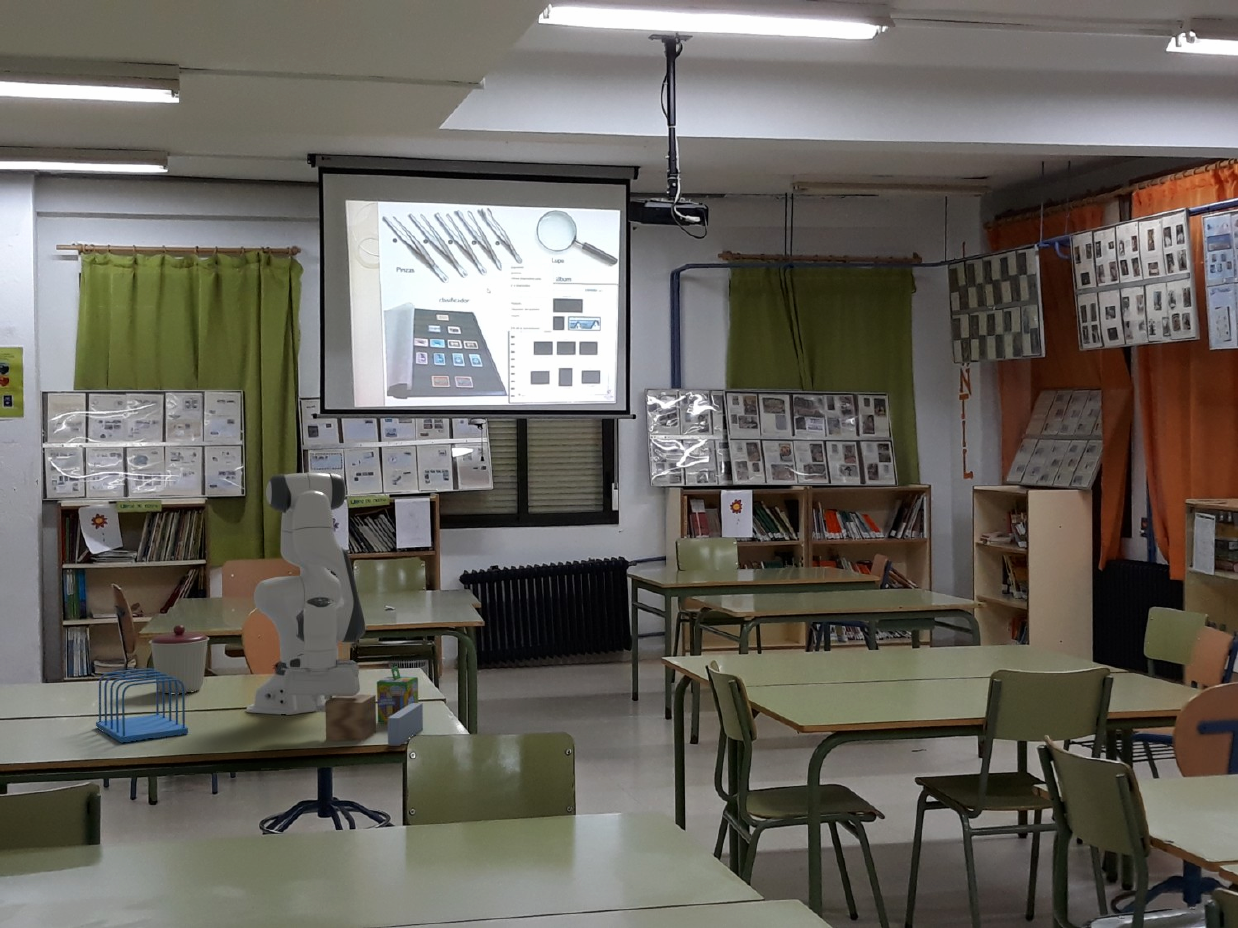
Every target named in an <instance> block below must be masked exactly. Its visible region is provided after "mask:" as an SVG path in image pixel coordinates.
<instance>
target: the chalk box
mask: <svg viewBox="0 0 1238 928" xmlns="http://www.w3.org/2000/svg"><path fill="white" fill-rule="evenodd" d="M390 670H391V675H392V676H387V677H384V678H381V679H379V680H378V681H376V698H377V700H376V703H377V704H376V705H377V723H378V724H388V717H390V716H392V715H393V714H395V713H396V712H398V711H400V710H401V709H403V708H405V707H406V706H408V705H409V704H411V703H419V678H418V676H417V677H416V676H401V674H400V671H399V667H398V666H397V665H396V666H393V667H392V668H391V669H390ZM395 672H396V674H395Z"/></svg>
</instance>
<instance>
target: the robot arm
mask: <svg viewBox="0 0 1238 928" xmlns="http://www.w3.org/2000/svg"><path fill="white" fill-rule="evenodd" d="M265 489H266V490H265V497H266V500H267V503H268V505H269V507H270V508H272V510H274V511H277V512H281V513H282V514H281V522H280V523H281V524H280V525H281V526H280V554H281V555H280V556H281V557H282V558H283V560H285V561H286V562H287V563H289V564H291V565H293V566H296V567H297V568H298V567H299V571H300V572H299V574H298V575H288V576H276V577H272V578H267V579H265V580H260V582H259V583H258V584H257V585H256V586H255V590H254V593H253V602H254V605H255V607H256V608H257V610H258V612H261V614H263V615H265V616H266V617H267V618H268V619H269V620H270V621H271V622H272V623H273V624H274V626H275V628H276V631H277V634H278V638H279V639H278V640H279V650H280V651H279V652H280V660H279V661H278V662H276V663H274V664H273V665H272V670H274V673H273V675H272V676H271V677H270V678H268V679H266V680H265V682H263V683H262V684H261V685H259V687H258V688H257V689H256V691H255V696H254V702H253V703H252V704H249V705H248V706H247V707H246V712H247V713H252V714H256V713H257V714H269V715H281V714H286V716H289V715H297V714H302V713H303V714H305V713H311V712H316V713H326V709H325V702H326V701H328V700H330V699H332V698H333V696H334V697H336V696H354V695H358V694H359V692H360V690H361V687H360V686H361V685H360V678H359V674H360V673H359V672H360V667H359V664H358V663H357V662H356V661H354V659H353V660H351V659H349V660H346V659H339V646H338V643H341V642H342V643H356V642H357V641H359V640H360V639H361V638H362V637H363V636H364V635H365V633H366V629H367V622H366V617H365V614H364V611H363V608H362V605H361V601H360V596H359V592H358V589H357V583H356V579H355V574H354V571H353V567H352V564H351V559H350V556H349V553H348V551H347V550H346V548H344V547H342V546H341V545H340V543H338V541H337V539H336V536H335V527H334V518H333V510H337V509H339V508H341V507H342V505H344V503H345V499H346V497H347V487H346V483H345V481H344V478H343V477H342V476H341V475H340V474H337V473H333V472H328V473H324V472H309V471H308V472H298V473H297V472H296V473H288V474H284V473H279V474H274V475H273V476H271V477H270V478H269V480H268V483H267V485H266V488H265ZM329 570H330V571H331V572H330V571H329ZM334 574H335V575H334ZM342 600H343V605H340V604H341V602H342Z"/></svg>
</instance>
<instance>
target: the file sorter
mask: <svg viewBox="0 0 1238 928" xmlns="http://www.w3.org/2000/svg"><path fill="white" fill-rule="evenodd" d="M109 675H110V676H109ZM107 676H109V677H108V678H106V680H105V682H104V687H103V689H104V691H103V692H104V693H103V694H104V695H103V696H104V699H103V700H104V706H103V707H104V720H102V681H103V679H104V678H105V677H107ZM155 676H156V677H155ZM158 676H161V677H158ZM114 678H116V679H115V680H113V681H112V682H111V685H110V688H109V692H110V693H109V697H110V698H109V699H110V700H109V702H110V703H109V705H110V706H109V707H110V710H109V711H110V719H109V720H108V700H107V699H108V695H107V693H108V691H107V689H108V688H107V687H108V683H109V681H110V680H111V679H114ZM166 678H168V680H164V679H166ZM159 679H162V680H159ZM123 680H124V681H123ZM119 681H122V682H120V683H119V684H118V685H117V686H116V689H115V719H114V718H113V717H114V714H113V713H114V712H113V711H114V709H113V708H114V707H113V706H114V705H113V702H114V698H113V696H114V695H113V693H114V692H113V691H114V688H113V687H114V685H115V684H116V683H118V682H119ZM171 681H174V682H175V694H174V695H175V696H174V697H175V720H173V719H172V694H171ZM160 682H162V692H163V693H162V692H161V693H162V713H161V714H160V713H159V712H160V710H159V707H160V706H159V704H160V703H159V702H160V701H159V697H160V695H159V692H160V691H159V683H160ZM165 682H169V694H168V717H167V716H166V709H165V708H166V705H165V703H166V699H165V698H166V694H165ZM177 682H179V683H180V684H181V686H182V694H181V697H182V702H181V703H182V704H181V706H182V719H181V720H182V721H181V723H182V724H181V723H179V700H178V699H179V698H178V697H179V694H178V685H177ZM129 683H130V684H129ZM124 684H128V685H126V686H125V687H124V689H122V692H121V693H122V695H121V706H122V707H121V711H122V713H121V717H122V718H119V690H120V688H121V687H122V686H123V685H124ZM148 684H156V688H155V689H156V690H155V691H156V693H155V694H156V695H155V696H156V705H155V706H156V714H148V715H139V716H131V717H125V694H126V690H128V688H130V687H133V686H140V685H141V686H142V685H148ZM185 694H186V693H185V691H184V684H183V683H182V682H181V681H180V680H178V679H174V678H173V677H170V676H168V675H166V674H162V673H160V672H158V671H155V670H154V668H139V669H130V670H129V669H128V670H118V671H110V672H105V673H103V674H102V675H101V677H99V681H98V721H96V722H95V727H96V726H97V727H98V728H100V729H101V730H103V731H104V732H105V734H106V733H108V734H109V735H110V736H109V735H108V734H107V735H108V736H109V737H111V738H113V739H114V738H115V740H116V741H117V742H119V743H121V744H124V743H123V742H126V743H132V742H131V741H134V742H137V741H136V740H138V741H142V739H145V740H148V739H147V738H153V739H159V738H166V736H167V737H175V736H174V735H178V736H181V735H180V734H185V735H188V734H189V728H188V727H187V726H186V724H185V723H186V717H185V716H186V714H185V713H186V706H185V705H186V704H185V703H186V702H185V699H186V698H185V697H186V695H185ZM98 728H97V729H98ZM101 730H100V731H101ZM103 731H102V732H103ZM104 732H103V733H104ZM187 733H188V734H187Z"/></svg>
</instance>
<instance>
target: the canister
mask: <svg viewBox="0 0 1238 928" xmlns="http://www.w3.org/2000/svg"><path fill="white" fill-rule="evenodd" d="M172 631H173V633H165V634H161V635H157V636H155V637H153V638H152V639H150V640H149V641H148V644H149V645H150V646H151V655H152V663H153V669H154V670H155V671H158V672H160V673H162V674H166V675H168V676H170V677H173V678H174V679H178V680H180V681H181V682H182V683H183V684H184V691H185V692H191V691H195V690H197V691H199V690H201V688H202V686H203V685H204V684H203V683H204V678H205V670H206V660H207V659H206V658H207V650H208V641H209V640H210V637H208V636H206V635H205V634H204V633H200V632H185V631H186V628H185V626H184V625H182V624H178V625H174V626H173V628H172ZM154 677H156V676H154ZM158 677H161V676H158ZM159 680H162V679H159ZM164 680H168V678H166V679H164ZM177 685H178V693H182V686H181V684H180V683H179V682H177ZM159 692H160V693H162V682H160V683H159ZM195 692H196V691H195ZM165 693H169V682H165ZM171 693H175V682H174V681H171ZM191 693H192V692H191Z"/></svg>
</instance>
